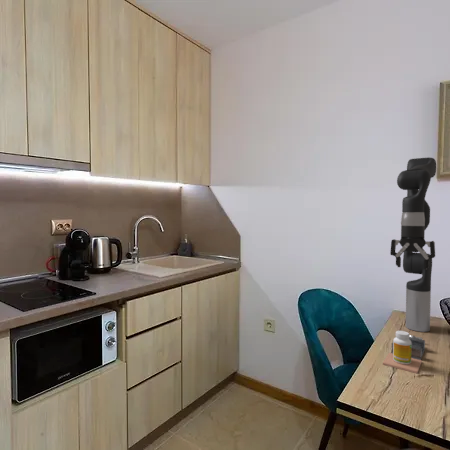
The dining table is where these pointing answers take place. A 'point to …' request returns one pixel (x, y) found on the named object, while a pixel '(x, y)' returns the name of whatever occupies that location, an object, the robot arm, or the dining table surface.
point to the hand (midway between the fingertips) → (411, 268)
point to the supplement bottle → (402, 348)
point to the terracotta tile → (410, 367)
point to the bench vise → (416, 347)
